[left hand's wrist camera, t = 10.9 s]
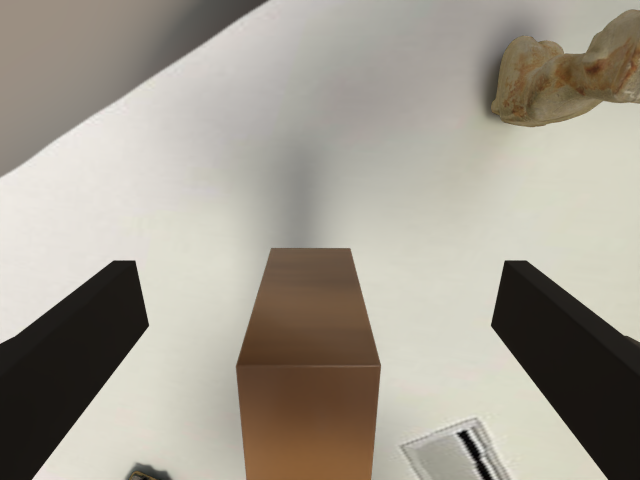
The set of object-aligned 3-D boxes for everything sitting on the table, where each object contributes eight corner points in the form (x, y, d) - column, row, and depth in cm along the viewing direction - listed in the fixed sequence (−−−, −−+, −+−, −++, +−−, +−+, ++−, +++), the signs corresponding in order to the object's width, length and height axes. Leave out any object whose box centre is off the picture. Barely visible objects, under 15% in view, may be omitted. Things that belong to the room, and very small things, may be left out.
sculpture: (559, 48, 32) (747, 7, 18) (527, 129, 35) (670, 147, 21) (499, 34, 32) (645, -19, 18) (472, 117, 34) (580, 128, 20)
